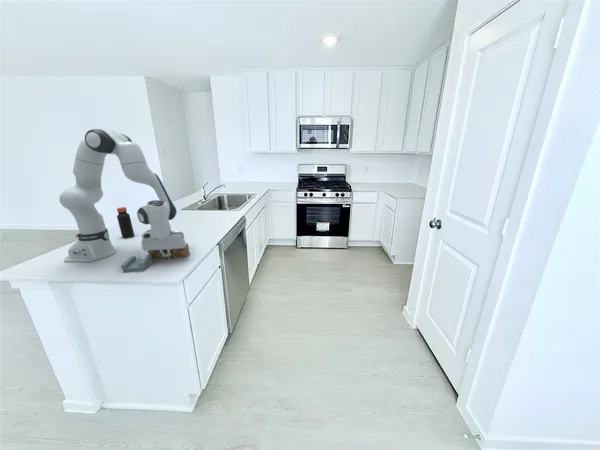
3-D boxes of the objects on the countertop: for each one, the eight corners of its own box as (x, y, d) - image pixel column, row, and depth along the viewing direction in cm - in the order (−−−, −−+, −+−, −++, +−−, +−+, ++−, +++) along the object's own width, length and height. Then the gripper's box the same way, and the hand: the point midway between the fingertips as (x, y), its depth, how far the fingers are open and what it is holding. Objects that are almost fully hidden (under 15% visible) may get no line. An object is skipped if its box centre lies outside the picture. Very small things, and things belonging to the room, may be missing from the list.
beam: (149, 259, 131) (147, 249, 129) (153, 255, 135) (151, 245, 134) (187, 256, 134) (185, 246, 132) (189, 253, 138) (187, 243, 137)
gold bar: (171, 257, 131) (168, 251, 130) (164, 260, 131) (161, 253, 130) (178, 249, 143) (175, 243, 141) (171, 251, 142) (168, 245, 141)
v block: (144, 270, 119) (142, 263, 118) (123, 272, 118) (121, 265, 117) (152, 261, 129) (151, 254, 128) (132, 263, 127) (131, 256, 126)
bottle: (119, 238, 162) (112, 208, 156) (129, 234, 168) (122, 206, 162) (127, 239, 160) (120, 209, 154) (136, 235, 166) (130, 207, 160)
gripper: (184, 228, 130) (188, 252, 134) (143, 231, 127) (148, 255, 131) (181, 232, 124) (185, 257, 128) (137, 235, 121) (143, 260, 125)
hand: (166, 256), depth 130 cm, fingers closed, pressing on gold bar
